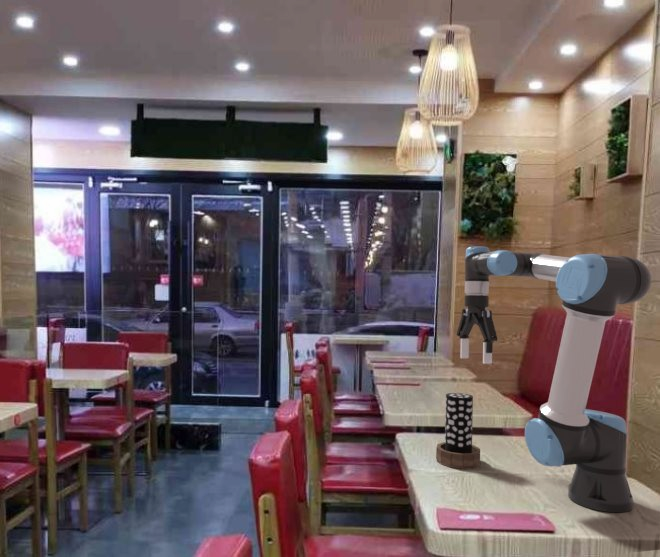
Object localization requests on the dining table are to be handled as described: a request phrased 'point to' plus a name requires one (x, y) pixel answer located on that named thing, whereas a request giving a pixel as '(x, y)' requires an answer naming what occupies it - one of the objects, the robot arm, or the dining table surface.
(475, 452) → the holder
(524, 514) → the dining table surface
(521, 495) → the dining table surface
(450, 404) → the white-spotted black cylinder
